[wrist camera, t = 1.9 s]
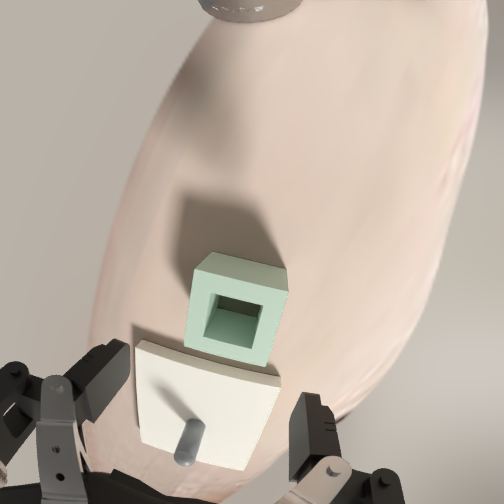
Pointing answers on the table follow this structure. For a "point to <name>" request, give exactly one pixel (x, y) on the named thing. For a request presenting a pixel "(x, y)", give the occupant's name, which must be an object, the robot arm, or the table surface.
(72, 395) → the robot arm
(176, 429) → the plate
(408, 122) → the table surface
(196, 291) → the collar
